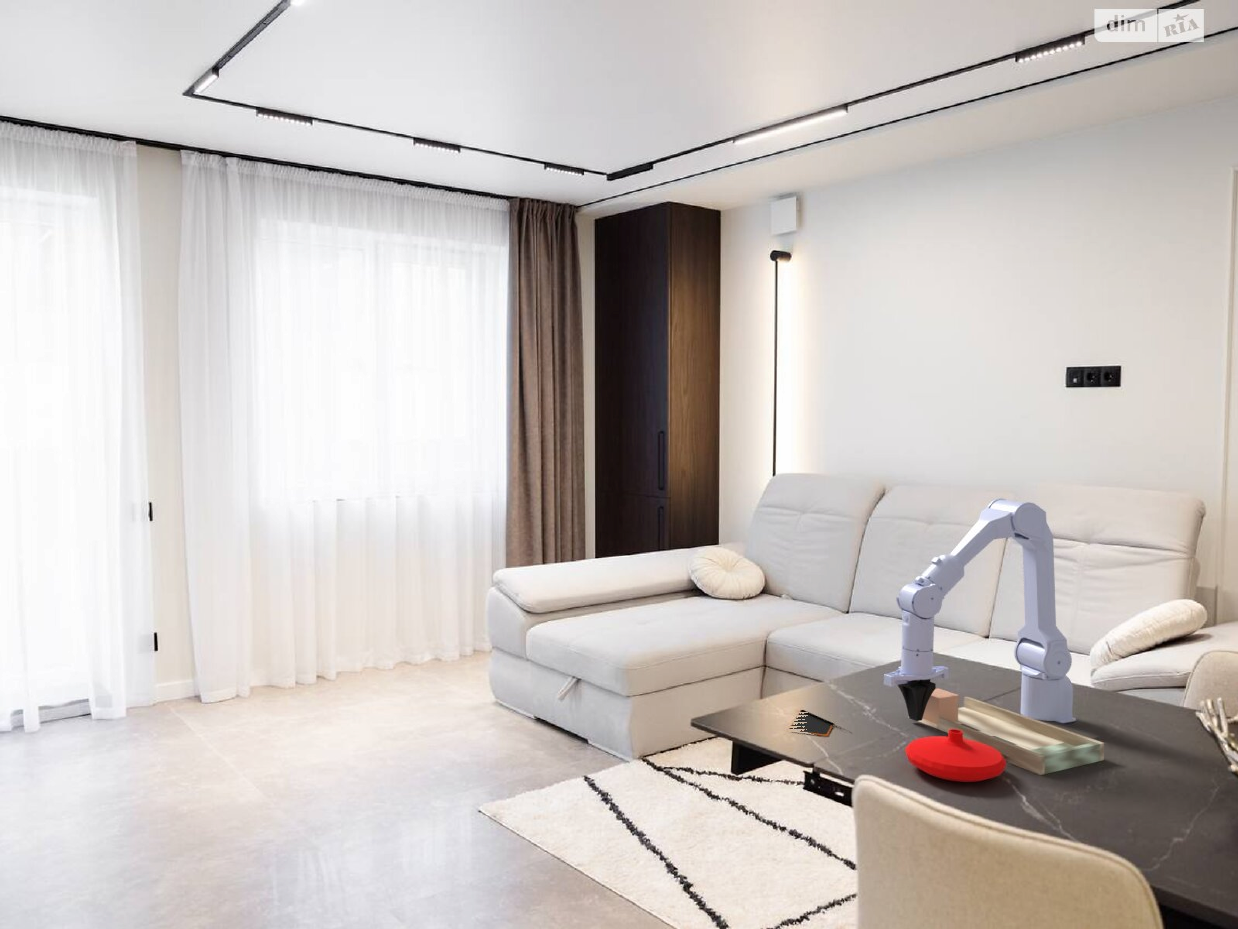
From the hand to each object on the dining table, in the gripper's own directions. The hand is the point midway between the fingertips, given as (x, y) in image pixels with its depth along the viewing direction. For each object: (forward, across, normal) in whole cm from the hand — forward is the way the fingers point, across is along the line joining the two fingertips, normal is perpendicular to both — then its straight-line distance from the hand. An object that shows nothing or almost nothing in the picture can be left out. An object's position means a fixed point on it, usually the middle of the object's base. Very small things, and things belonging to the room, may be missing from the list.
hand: (915, 719), depth 178 cm
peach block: (+1, -6, 0) cm, 6 cm away
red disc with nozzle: (+2, +11, +20) cm, 22 cm away
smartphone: (+2, +14, -12) cm, 19 cm away
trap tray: (+2, -9, +12) cm, 15 cm away
